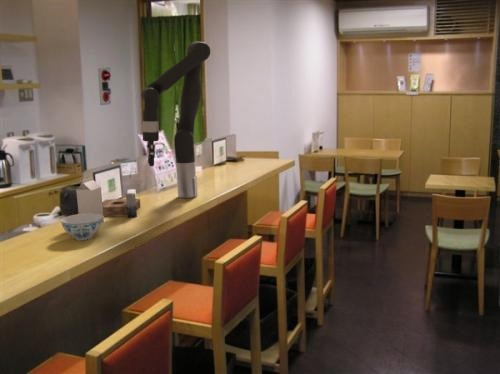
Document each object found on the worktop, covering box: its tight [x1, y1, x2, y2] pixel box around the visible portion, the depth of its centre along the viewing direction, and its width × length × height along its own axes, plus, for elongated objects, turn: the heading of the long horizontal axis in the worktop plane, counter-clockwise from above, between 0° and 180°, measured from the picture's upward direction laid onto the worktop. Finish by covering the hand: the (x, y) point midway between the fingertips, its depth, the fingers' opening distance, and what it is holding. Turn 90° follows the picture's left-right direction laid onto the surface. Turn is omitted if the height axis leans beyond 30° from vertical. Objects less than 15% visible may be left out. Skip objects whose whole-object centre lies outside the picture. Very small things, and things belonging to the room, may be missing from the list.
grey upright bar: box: [125, 192, 138, 219], centre depth 250 cm, size 4×4×10 cm
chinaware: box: [60, 213, 103, 241], centre depth 220 cm, size 15×15×8 cm
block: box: [102, 198, 142, 217], centre depth 261 cm, size 16×16×4 cm
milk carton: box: [75, 176, 105, 224], centre depth 240 cm, size 7×7×19 cm
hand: (151, 164), depth 277 cm, fingers open, 8 cm apart
